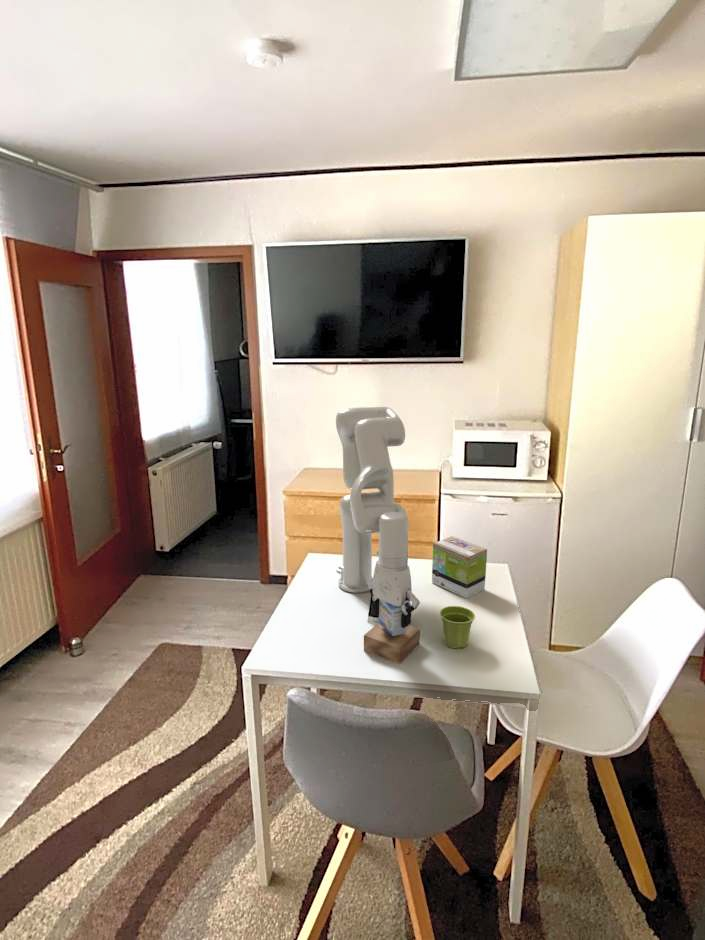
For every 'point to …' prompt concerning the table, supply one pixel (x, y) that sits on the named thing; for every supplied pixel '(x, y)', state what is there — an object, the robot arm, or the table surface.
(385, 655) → the walnut block
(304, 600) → the table surface
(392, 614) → the medicine box
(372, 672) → the table surface
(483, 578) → the tea box
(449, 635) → the plant pot
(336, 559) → the table surface
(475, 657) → the table surface
